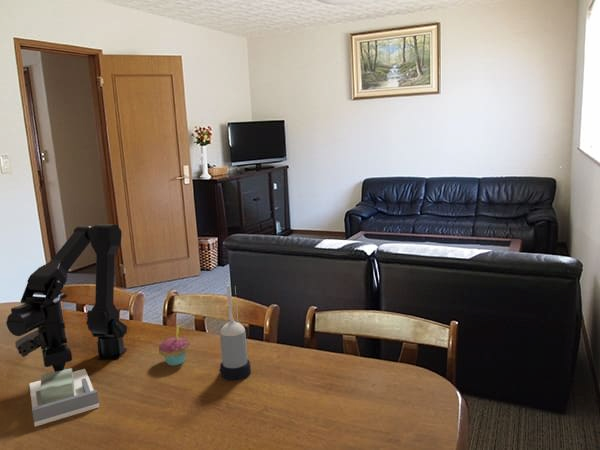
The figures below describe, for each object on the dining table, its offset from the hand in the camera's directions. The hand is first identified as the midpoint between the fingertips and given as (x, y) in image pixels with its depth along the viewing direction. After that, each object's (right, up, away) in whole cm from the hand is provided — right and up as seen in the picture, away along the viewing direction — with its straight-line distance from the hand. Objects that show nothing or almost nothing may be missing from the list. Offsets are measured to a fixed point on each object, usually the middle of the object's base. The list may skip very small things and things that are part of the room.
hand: (59, 376), depth 130 cm
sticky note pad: (+2, -4, -5) cm, 6 cm away
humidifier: (+46, -1, +5) cm, 46 cm away
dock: (+2, -5, -2) cm, 6 cm away
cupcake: (+27, 0, +13) cm, 30 cm away
